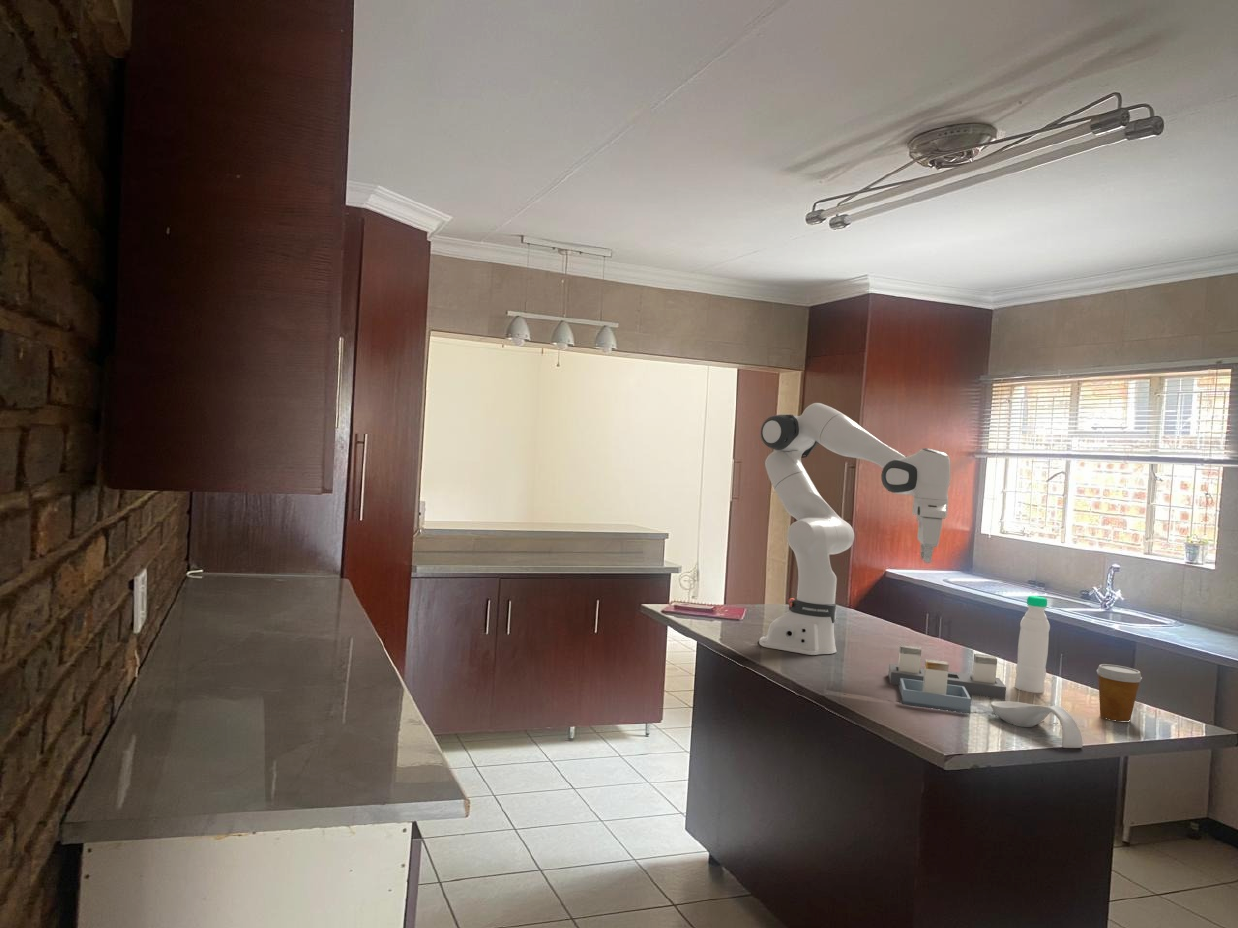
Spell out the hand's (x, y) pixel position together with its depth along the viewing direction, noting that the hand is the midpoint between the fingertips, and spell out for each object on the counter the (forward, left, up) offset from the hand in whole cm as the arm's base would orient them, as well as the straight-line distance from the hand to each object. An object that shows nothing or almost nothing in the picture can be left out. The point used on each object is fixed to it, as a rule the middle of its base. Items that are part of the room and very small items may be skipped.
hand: (925, 560), depth 242 cm
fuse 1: (-3, -13, -30) cm, 33 cm away
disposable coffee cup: (+44, -18, -31) cm, 57 cm away
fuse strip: (+6, -13, -31) cm, 34 cm away
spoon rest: (+22, -39, -32) cm, 55 cm away
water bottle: (+28, -2, -31) cm, 42 cm away
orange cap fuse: (+2, -27, -30) cm, 41 cm away
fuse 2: (+15, -13, -30) cm, 36 cm away
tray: (+2, -27, -31) cm, 41 cm away
